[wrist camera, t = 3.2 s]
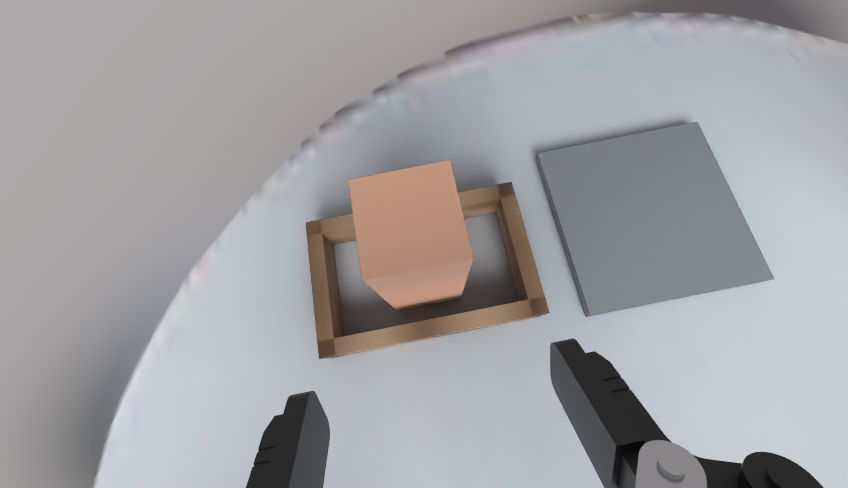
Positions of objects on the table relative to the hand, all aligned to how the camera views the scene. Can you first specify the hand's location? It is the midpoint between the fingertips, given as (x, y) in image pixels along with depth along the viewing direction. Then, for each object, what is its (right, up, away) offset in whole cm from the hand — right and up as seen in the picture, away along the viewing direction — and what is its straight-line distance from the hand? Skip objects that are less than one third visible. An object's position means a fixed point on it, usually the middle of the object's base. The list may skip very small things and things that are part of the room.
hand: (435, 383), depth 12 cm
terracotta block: (-1, +3, +13) cm, 13 cm away
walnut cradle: (-1, +3, +13) cm, 13 cm away
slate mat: (+15, +7, +13) cm, 21 cm away
